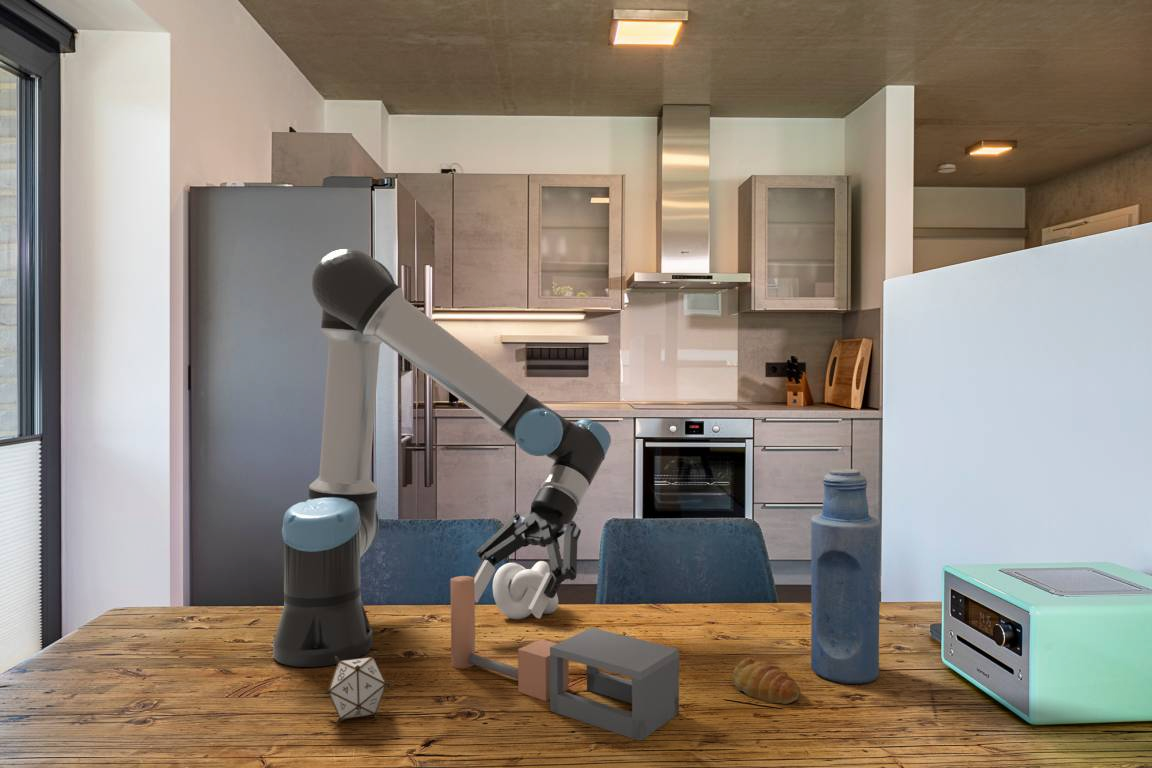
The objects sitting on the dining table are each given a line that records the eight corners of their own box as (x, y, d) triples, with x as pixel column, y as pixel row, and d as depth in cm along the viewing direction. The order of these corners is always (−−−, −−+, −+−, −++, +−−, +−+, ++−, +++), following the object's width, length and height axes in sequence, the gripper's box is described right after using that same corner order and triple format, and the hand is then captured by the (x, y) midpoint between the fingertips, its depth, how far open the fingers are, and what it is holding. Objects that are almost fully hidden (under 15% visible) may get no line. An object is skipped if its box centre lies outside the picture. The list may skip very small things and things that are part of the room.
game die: (365, 751, 101) (367, 709, 95) (307, 722, 103) (306, 680, 97) (401, 694, 108) (405, 651, 102) (347, 667, 110) (348, 624, 104)
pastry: (811, 698, 108) (811, 671, 108) (780, 712, 104) (780, 684, 104) (757, 677, 116) (757, 651, 115) (725, 689, 111) (725, 662, 111)
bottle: (885, 668, 118) (887, 468, 117) (871, 691, 110) (872, 476, 109) (821, 655, 123) (822, 463, 122) (802, 676, 115) (803, 471, 114)
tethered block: (442, 666, 120) (442, 580, 119) (466, 656, 124) (466, 573, 123) (545, 701, 107) (545, 606, 107) (568, 688, 111) (568, 597, 111)
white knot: (503, 601, 152) (502, 555, 151) (565, 603, 150) (564, 557, 150) (488, 620, 140) (488, 570, 140) (555, 623, 139) (554, 573, 139)
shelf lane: (550, 710, 104) (549, 647, 104) (591, 687, 112) (591, 627, 111) (640, 741, 96) (640, 671, 95) (678, 713, 103) (678, 648, 103)
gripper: (627, 518, 132) (573, 633, 120) (516, 503, 147) (459, 603, 136) (608, 491, 127) (551, 607, 116) (496, 478, 143) (435, 580, 131)
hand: (501, 606), depth 126 cm, fingers open, 13 cm apart
